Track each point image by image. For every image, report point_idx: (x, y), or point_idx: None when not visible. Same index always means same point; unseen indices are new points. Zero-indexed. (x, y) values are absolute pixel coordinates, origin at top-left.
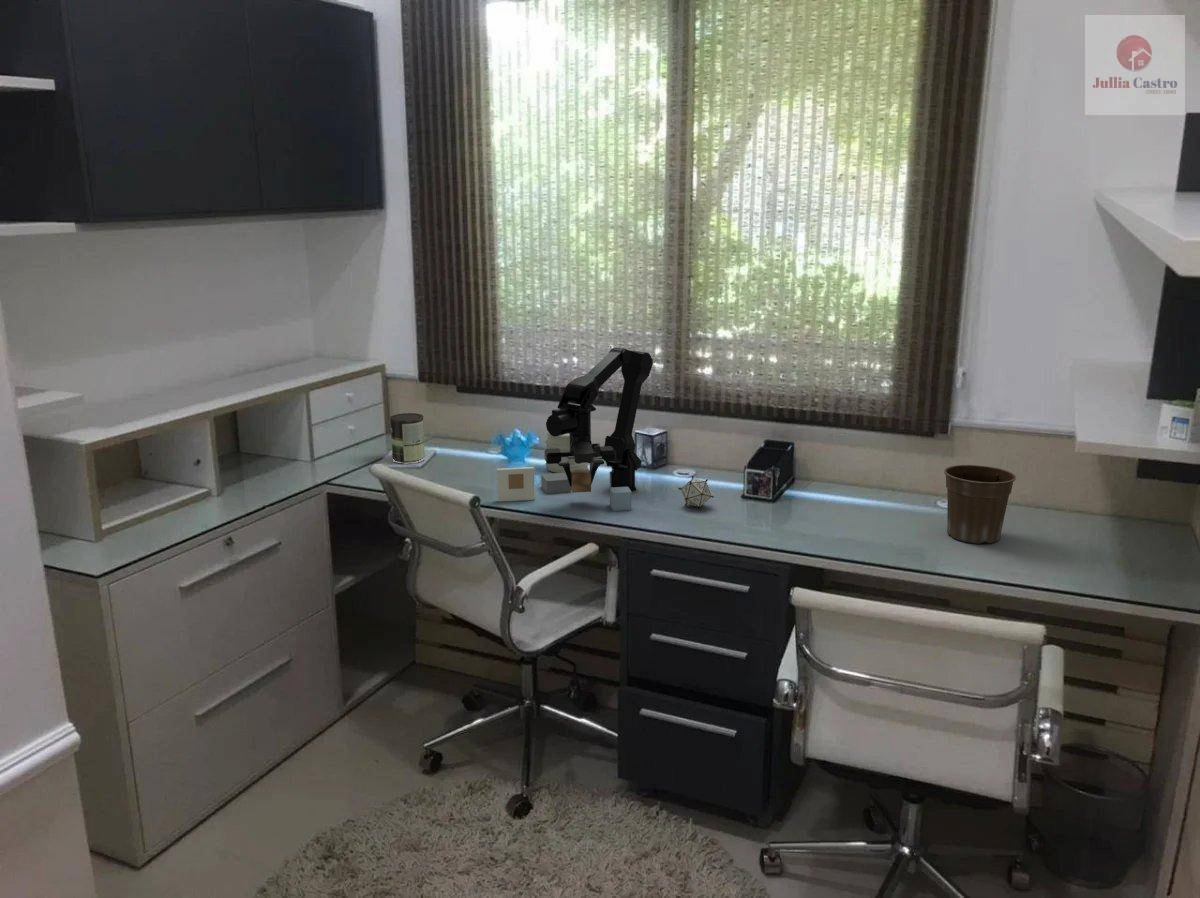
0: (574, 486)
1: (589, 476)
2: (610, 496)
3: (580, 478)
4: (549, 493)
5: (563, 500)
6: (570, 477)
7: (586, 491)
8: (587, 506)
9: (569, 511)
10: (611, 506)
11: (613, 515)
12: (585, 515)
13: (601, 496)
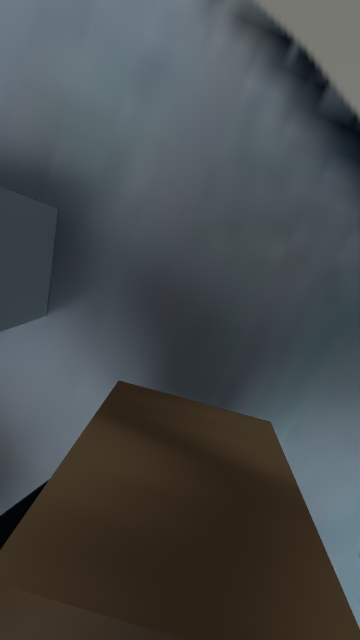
0: (267, 460)
1: (49, 525)
2: (2, 301)
3: (206, 537)
4: None
5: None
6: None
7: (155, 393)
8: (167, 342)
9: (301, 304)
10: (46, 259)
11: (82, 110)
12: (249, 187)
13: (47, 449)
